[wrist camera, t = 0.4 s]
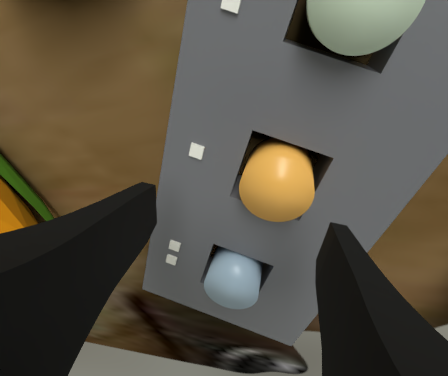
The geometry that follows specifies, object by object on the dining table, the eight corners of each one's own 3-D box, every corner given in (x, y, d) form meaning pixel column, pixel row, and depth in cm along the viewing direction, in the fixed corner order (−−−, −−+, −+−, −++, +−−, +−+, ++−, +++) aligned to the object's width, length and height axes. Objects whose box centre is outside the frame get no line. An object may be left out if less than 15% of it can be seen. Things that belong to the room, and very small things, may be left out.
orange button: (323, 150, 16) (328, 173, 14) (296, 202, 18) (296, 231, 16) (259, 127, 16) (252, 147, 14) (239, 182, 18) (230, 207, 16)
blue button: (270, 252, 21) (266, 283, 19) (253, 284, 23) (248, 316, 21) (221, 234, 21) (210, 263, 19) (209, 267, 23) (198, 297, 21)
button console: (615, -133, 10) (732, -189, 7) (291, 315, 26) (291, 348, 24) (251, -234, 11) (235, -319, 8) (156, 264, 27) (141, 290, 24)
